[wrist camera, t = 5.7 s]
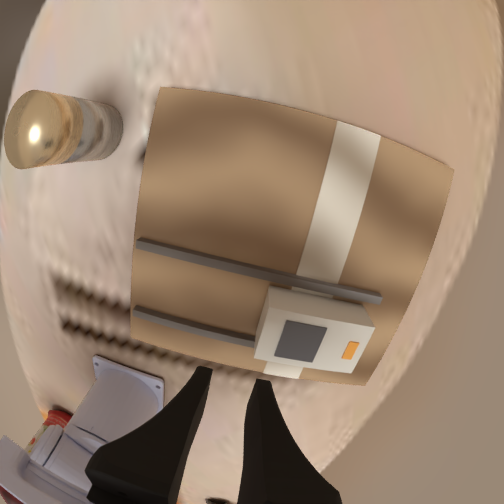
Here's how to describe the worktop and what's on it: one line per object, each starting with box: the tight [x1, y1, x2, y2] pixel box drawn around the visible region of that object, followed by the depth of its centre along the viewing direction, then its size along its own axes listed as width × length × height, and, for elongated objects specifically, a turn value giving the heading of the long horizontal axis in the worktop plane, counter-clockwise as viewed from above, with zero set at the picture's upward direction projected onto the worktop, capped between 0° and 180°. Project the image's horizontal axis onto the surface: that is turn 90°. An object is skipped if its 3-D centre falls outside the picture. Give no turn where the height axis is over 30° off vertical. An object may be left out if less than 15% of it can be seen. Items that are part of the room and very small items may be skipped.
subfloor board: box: [130, 87, 454, 386], centre depth 19 cm, size 20×21×2 cm
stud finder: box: [254, 285, 375, 373], centre depth 18 cm, size 4×7×3 cm, turn 77°
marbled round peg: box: [4, 90, 123, 169], centre depth 14 cm, size 4×4×8 cm
